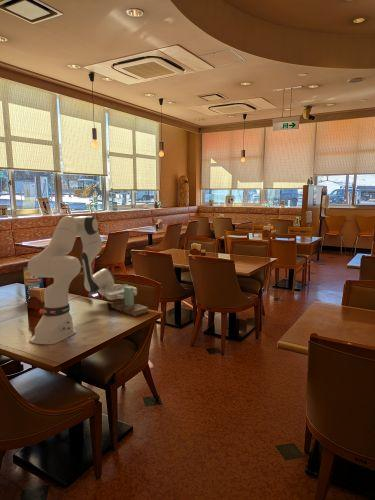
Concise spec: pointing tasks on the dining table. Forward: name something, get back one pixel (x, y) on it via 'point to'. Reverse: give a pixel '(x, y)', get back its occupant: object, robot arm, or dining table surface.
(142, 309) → the grey slab with hole
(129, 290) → the pale green tall block
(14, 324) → the dining table surface
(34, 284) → the beverage box
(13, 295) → the dining table surface
